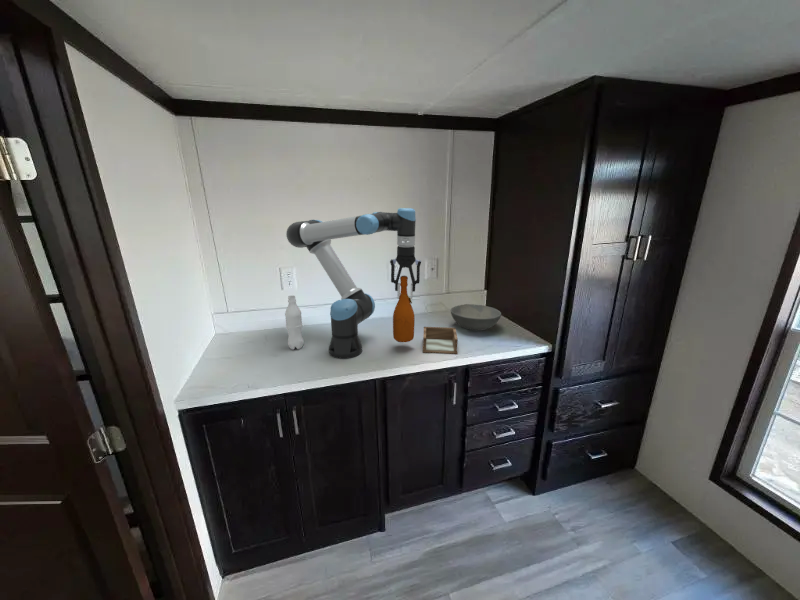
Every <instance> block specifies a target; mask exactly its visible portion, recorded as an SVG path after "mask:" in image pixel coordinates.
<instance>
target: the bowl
mask: <svg viewBox="0 0 800 600" xmlns="http://www.w3.org/2000/svg"><path fill="white" fill-rule="evenodd" d="M450 314H451V317H452V319H453V320H454V321H455V323H457V324H458V325H459V326H460V327H462V328H464V329H466V330H469V331H483V330H489V329H490V328H492V327H493V326H495V325H496V324H497V323H498V322H499V320H500V319H501V317H502V312H501V311H500V310H498V309H497V308H495V307H491V306H487V305H483V304H482V305H481V304H472V303H471V304H469V303H466V304H459V305H455V306H453V307H451V309H450Z"/></svg>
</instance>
